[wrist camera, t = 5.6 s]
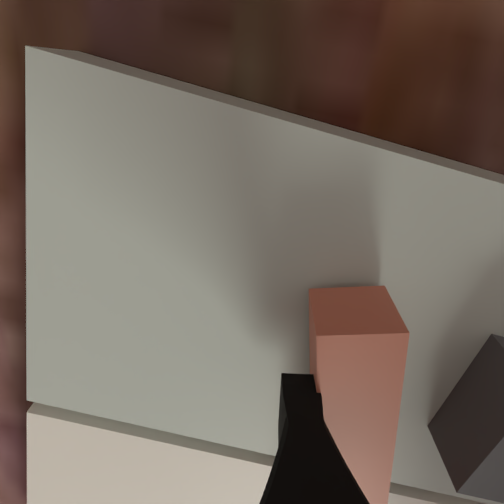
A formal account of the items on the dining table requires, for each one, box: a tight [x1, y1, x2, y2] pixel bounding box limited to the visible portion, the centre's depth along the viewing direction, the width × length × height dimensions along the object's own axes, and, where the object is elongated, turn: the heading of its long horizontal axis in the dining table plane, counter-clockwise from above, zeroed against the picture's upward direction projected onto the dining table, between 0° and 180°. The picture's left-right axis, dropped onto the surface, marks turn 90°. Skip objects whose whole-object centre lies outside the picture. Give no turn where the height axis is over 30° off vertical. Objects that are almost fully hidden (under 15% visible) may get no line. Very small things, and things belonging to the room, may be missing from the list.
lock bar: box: [309, 286, 410, 504], centre depth 12 cm, size 12×3×2 cm, turn 5°
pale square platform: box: [25, 45, 504, 504], centre depth 14 cm, size 18×24×5 cm
